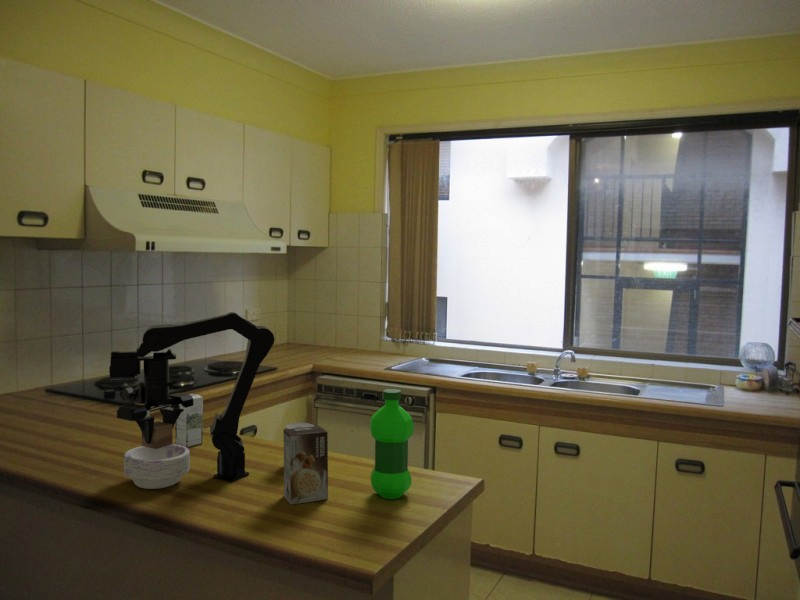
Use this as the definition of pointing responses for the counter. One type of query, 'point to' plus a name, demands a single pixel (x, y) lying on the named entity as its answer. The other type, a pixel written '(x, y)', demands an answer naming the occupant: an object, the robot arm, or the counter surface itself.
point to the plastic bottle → (391, 447)
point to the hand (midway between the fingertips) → (157, 440)
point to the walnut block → (160, 436)
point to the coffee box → (305, 464)
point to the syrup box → (190, 424)
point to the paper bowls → (156, 465)
